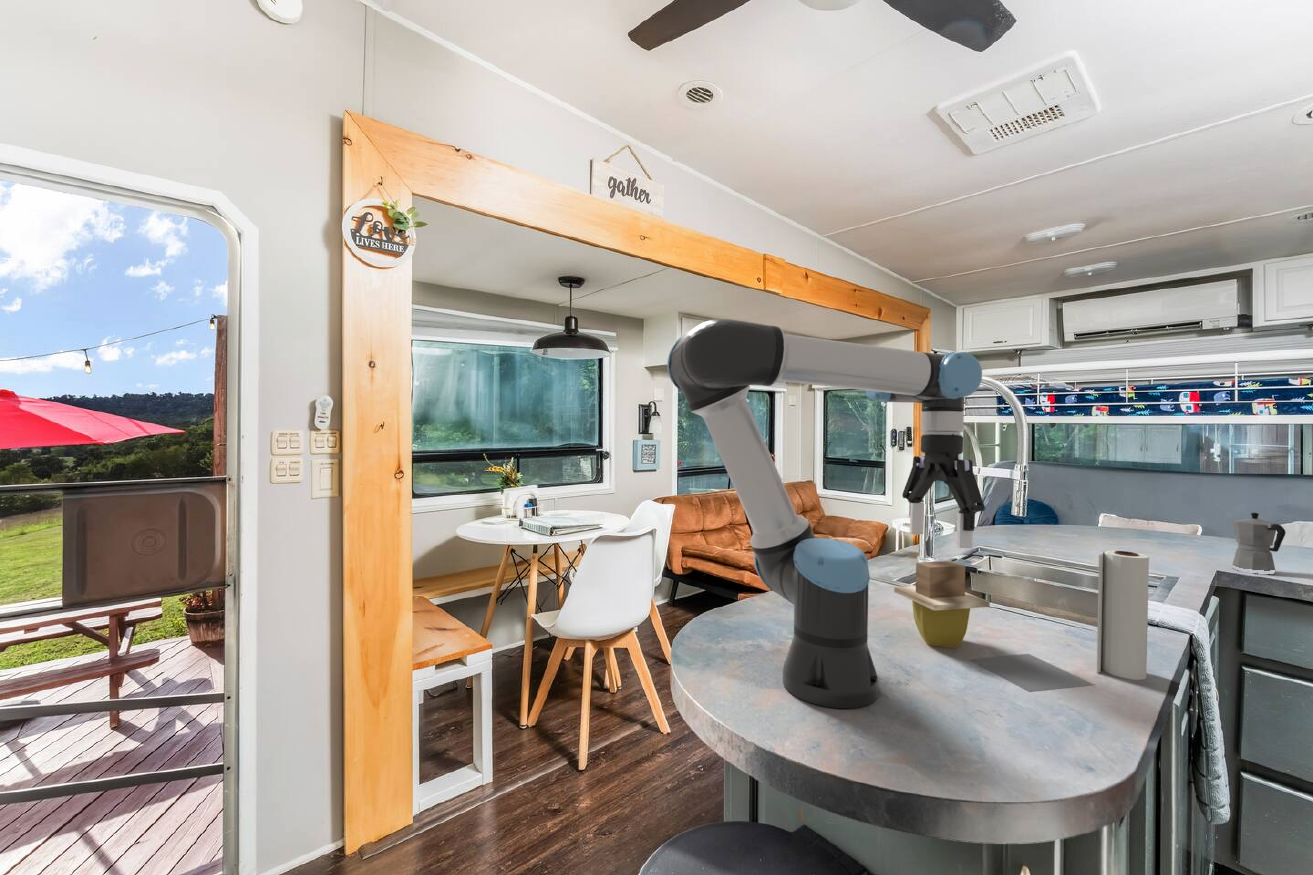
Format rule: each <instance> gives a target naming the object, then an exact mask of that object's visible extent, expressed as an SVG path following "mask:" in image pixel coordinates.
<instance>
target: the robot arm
mask: <svg viewBox="0 0 1313 875" xmlns="http://www.w3.org/2000/svg"><path fill="white" fill-rule="evenodd" d="M666 362H667V367H666V368H667V373H668V375H669V376H668V377H669V378H670V381H671V383H672V384H673V385H674V386H675V387H676V389H677V390H679V391H680V392H681V393H682V394H683V396H684V399H685V401H686V402H687V405H688V407H689V409H690V412H691V413H693V414H695V415H698V416H700V417H701V418H703V421H704V423H705V425H706V428H707V429H708V432H709V434H710V437H711V439H712V441H713V443H714V445H715V448H716V450H717V452H718V454H719V456H720V459H721V461H722V463H723V465H724V468H725V470H726V472H727V475H728V478H729V479H730V481H731V483H732V485H733V488H734V490H735V493H736V494H737V496H738V499H739V501H740V504H741V506H742V508H743V511H744V513H745V515H746V517H747V519H748V522H749V524H750V526H751V528H752V531H753V532H752V536H751V537H750V540H749V543H750V546H751V548H752V550H753V553H754V554H753V555H754V556H753V562H754V568H755V571H756V573H757V576H759V579H760V580H761V581H762V582H763V584H764V585H765V586H766V587H767V588H768V589H769V590H771V591H772V592H774V593H776V594H778V595H779V596H780V597H782V598H784V599H785V600H786V601H788V602H789V603H791V604H792V605H793V638H792V641H791V643H790V646H789V649H788V651H787V655H786V656H785V657H786V658H785V661H784V664H783V665H782V685H783V687H784V688H785V690H787V691H788V692H789V693H790V694H792V695H793V696H795V697H796V698H799V699H801V700H802V701H806V702H808V703H811V704H814V705H817V706H822V707H827V708H835V709H856V708H862V707H866V706H869V705H871V704H873V703H874V702H875V701H876V700H878V698H879V692H880V691H879V684H880V683H879V682H880V681H879V676H878V674H877V670H876V668H875V665H874V661H873V658H872V655H871V651H870V648H869V644H868V643H869V642H868V641H869V640H868V639H869V638H868V636H869V635H868V634H869V633H868V631H869V629H868V628H869V627H868V626H869V583H870V579H871V576H870V572H869V561H868V557H867V556H866V553H865V552H864V551H863V550H862V549H861V548H860V547H858V546H855V545H853V544H851V543H849V542H845V541H838V540H837V539H835V538H834V539H832V538H825V537H824V538H821V537H816V536H815V534H814V531H813V529H812V527H811V524H810V522H809V520H808V518H806V517H803V516H802V515H799V514H797V513H796V511H795V508H794V505H793V503H792V501H791V499H790V496H789V494H788V492H787V490H786V487H785V485H784V482H783V480H782V477H781V476H780V474H779V471H778V468H777V467H776V465H775V462H774V460H773V458H772V454H771V452H770V451H769V448H768V446H767V443H766V440H765V439H764V437H763V435H762V433H761V430H760V427H759V425H758V423H757V420H756V418H755V416H754V413H753V411H752V409H751V407H750V405H749V402H748V400H747V395H748V393H749V391H750V388H751V386H763V387H765V386H766V387H772V386H774V385H775V384H776V383H777V382H785V383H792V384H793V383H794V384H795V383H796V384H802V385H812V386H820V387H821V386H822V387H823V386H824V387H829V388H830V387H831V388H841V389H852V390H859V391H865V393H866V396H867V397H868V398H869V400H872V401H873V402H883V403H885V404H887V403H917V404H921V414H920V415H921V416H920V417H921V418H920V431H921V432H923V434H922V435H921V436H920V452H921V453H923V454H924V456H920V455H918V456H917V455H916V456H913V460H912V467H911V470H910V472H909V475H908V478H907V480H906V484H905V486H904V489H903V492H902V493H901V494H902V498H903V499H907V502H908V503H909V508H908V509H909V510H908V511H909V513H908V514H909V535H924V523H925V521H924V520H925V503H924V502H925V501H924V497H925V496H926V494H927V493H928V492H929V490H930V489H931V487H932V486H933V484H934V482H936V481H939V482H943V483H944V484H946V485H947V487H948V489H949V490H950V492H951V494H952V496H953V498H954V500H955V501H956V502H955V503H956V504H957V506H958V507H959V509H960V510H958V512H957V519H956V520H957V522H956V525H957V526H956V548H958V549H973V536H974V535H973V531H975V523H976V522H975V521H976V514H977V513H978V512H979V513H980V512H984V511H985V510H986V507H985V506H986V505H985V503H984V501H983V497H982V495H981V491H980V488H979V485H978V483H977V480H976V477H975V473H974V468H973V460H971V459H960V458H959V457H960V456H959V455H960V454H963V452H964V437H963V435H960V434H961V433H962V432H964V424H965V422H964V420H965V419H964V415H965V413H964V412H965V397H969V396H971V395H972V394H974V393H975V392H976V391H977V390H978V389H979V387H980V385H981V382H982V379H983V369H982V366H981V363H980V362H979V360H978V359H977V358H976V357H975V356H974V355H973V354H971V353H968V352H963V351H962V352H949V353H948V352H947V354H946V353H945V354H942V353H941V354H940V353H932V352H924V351H917V350H910V349H901V348H894V347H893V348H892V347H885V346H878V345H870V344H863V343H855V342H848V341H839V340H832V339H827V338H826V339H825V338H817V337H810V336H809V337H808V336H803V335H794V334H787V333H785V331H784V329H782V327H780V326H776V325H767V324H762V323H757V322H756V323H755V322H750V321H743V320H736V319H727V318H715V319H710V320H706V321H703V322H701V323H700V324H698V325H697V326H695V327H694V328H692V329H691V330H689V331H687V332H686V333H685V334H683V335H681V336H680V337H678V339H676V341H675V343H674V344H673V346H672V348H671V349H670V351H669V354H668V358H667V361H666Z"/></svg>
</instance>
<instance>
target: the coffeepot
mask: <svg viewBox="0 0 1313 875" xmlns="http://www.w3.org/2000/svg"><path fill="white" fill-rule="evenodd" d="M1250 515H1251V518H1242V519H1232V525H1233V532H1234V538H1235V542H1237V543H1238V544H1237V545H1238V548H1236V551H1235V552H1234V557H1233V560H1232V565H1234V566H1236V567H1239V568H1243V569H1252V570H1264V571H1270V570H1275V571H1276V568H1275V562H1274V558H1273V553H1272V552H1275V553H1276V552H1279V549H1280V548H1281V545H1282V542H1283V540H1284V538H1285V536H1286V529H1284V527H1283V526H1282V525H1281V524H1278V523H1273V522H1270V521H1266V520H1262V519H1259V518H1258V517H1259V515H1260V514H1259V513H1257V512H1250ZM1276 532H1277V533H1276ZM1275 536H1276V538H1275ZM1272 546H1273V547H1272ZM1232 565H1231V566H1232Z"/></svg>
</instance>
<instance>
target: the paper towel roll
mask: <svg viewBox="0 0 1313 875" xmlns="http://www.w3.org/2000/svg"><path fill="white" fill-rule="evenodd" d="M1149 570H1150V557H1149V555H1147V554H1143V553H1141V552H1140V553H1138V552H1133V551H1127V550H1105V551H1102V552H1101V553H1099V554H1098V584H1097V585H1098V588H1097V589H1098V593H1097V632H1096V634H1097V638H1096V641H1097V642H1096V674H1099V673H1101V672H1102V671H1101V670H1104V672H1105V673H1108V674H1110V675H1112V676H1115V677H1119V678H1122V679H1127V680H1134V681H1143V680H1146V679H1147V675H1148V673H1147V667H1148V666H1147V665H1148V622H1149V621H1148V617H1149V613H1148V611H1149V576H1150V574H1149Z"/></svg>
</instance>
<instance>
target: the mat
mask: <svg viewBox="0 0 1313 875" xmlns="http://www.w3.org/2000/svg"><path fill="white" fill-rule="evenodd" d="M968 660H970V661H971V662H973V663H975V664H977V665H978V666H980V667H982V668H984V669H985V670H987V671H989V672H992V673H993V674H995V675H996V676H999V677H1000V678H1003V679H1004V680H1006V681H1008V682H1010V683H1012V684H1013V685H1015V686H1017V687H1019V688H1021V689H1023V690H1024V691H1027V692H1028V693H1032V692H1033V693H1034V692H1040V691H1041V692H1043V691H1050V690H1060V689H1061V690H1063V689H1070V688H1071V689H1072V688H1079V687H1080V688H1081V687H1089V686H1096V684H1094V683H1093V682H1090V681H1088V680H1086V679H1084V678H1082V677H1080V676H1077V675H1075V674H1072V673H1071V672H1068V671H1066V670H1065V669H1062V668H1060V667H1058V666H1056V665H1054V664H1053V663H1052V664H1051V663H1050V662H1047V661H1045V660H1042V659H1041V658H1038V657H1037V656H1034V655H1032V654H1031V653H1022V654H1021V653H1020V654H1011V655H998V656H987V657H986V656H985V657H975V658H969V659H968Z"/></svg>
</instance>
